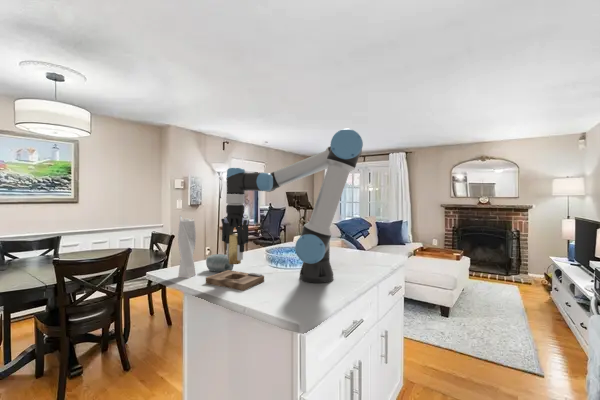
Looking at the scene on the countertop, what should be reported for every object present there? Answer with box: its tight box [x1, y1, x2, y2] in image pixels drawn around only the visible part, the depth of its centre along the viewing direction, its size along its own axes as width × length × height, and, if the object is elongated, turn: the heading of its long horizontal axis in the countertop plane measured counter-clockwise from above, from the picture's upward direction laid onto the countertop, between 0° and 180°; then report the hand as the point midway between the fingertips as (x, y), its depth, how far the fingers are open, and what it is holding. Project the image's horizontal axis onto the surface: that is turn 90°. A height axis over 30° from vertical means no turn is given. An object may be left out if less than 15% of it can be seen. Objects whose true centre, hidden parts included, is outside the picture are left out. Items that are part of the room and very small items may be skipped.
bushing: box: [229, 233, 242, 265], centre depth 123 cm, size 5×5×12 cm
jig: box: [205, 270, 265, 291], centre depth 124 cm, size 20×14×3 cm
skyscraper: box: [177, 215, 197, 279], centre depth 133 cm, size 8×8×28 cm
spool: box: [205, 253, 235, 273], centre depth 142 cm, size 14×10×10 cm
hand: (234, 258), depth 123 cm, fingers closed on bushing, 5 cm apart
